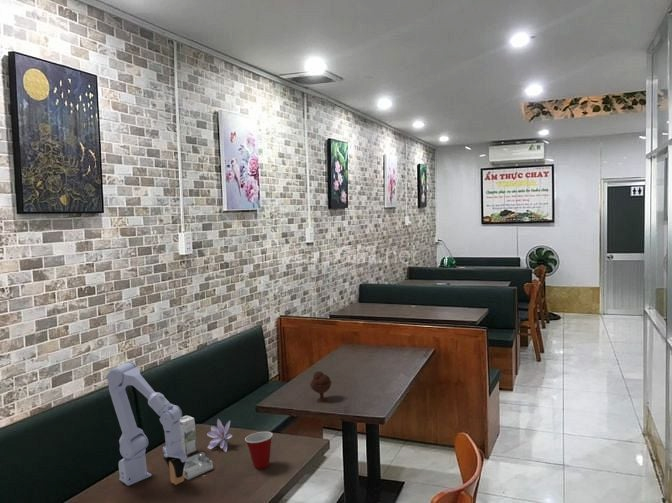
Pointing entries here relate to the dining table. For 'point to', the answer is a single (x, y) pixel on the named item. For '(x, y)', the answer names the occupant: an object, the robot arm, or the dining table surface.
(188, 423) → the syrup box
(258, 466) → the plastic cup
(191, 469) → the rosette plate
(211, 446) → the water lily
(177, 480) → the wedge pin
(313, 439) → the dining table surface
